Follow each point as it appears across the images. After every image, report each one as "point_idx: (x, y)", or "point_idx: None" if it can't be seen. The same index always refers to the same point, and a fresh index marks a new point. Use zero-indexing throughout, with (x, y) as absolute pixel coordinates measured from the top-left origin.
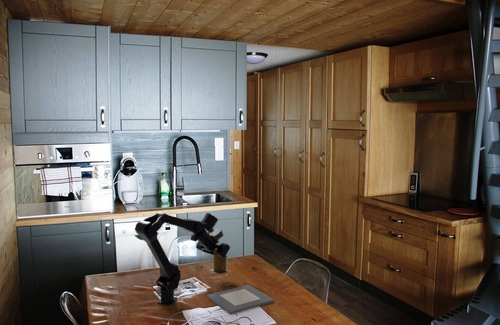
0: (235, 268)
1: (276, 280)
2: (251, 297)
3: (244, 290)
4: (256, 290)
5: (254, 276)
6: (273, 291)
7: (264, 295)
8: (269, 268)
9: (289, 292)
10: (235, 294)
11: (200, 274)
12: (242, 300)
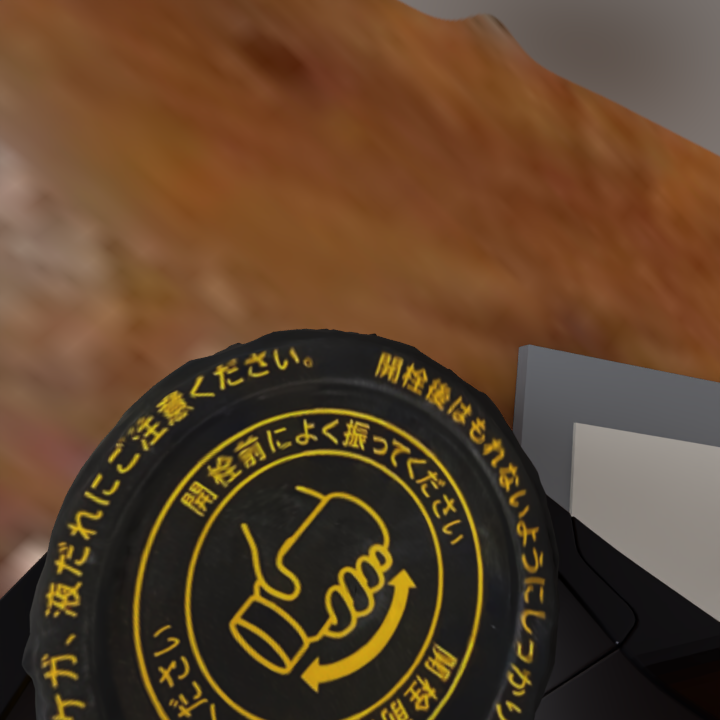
0: (164, 149)
1: (542, 143)
2: (707, 486)
3: (599, 443)
4: (631, 374)
5: (401, 181)
6: (656, 287)
7: (712, 393)
8: (354, 3)
9: (709, 235)
10: (619, 543)
11: (30, 469)
12: (714, 567)
